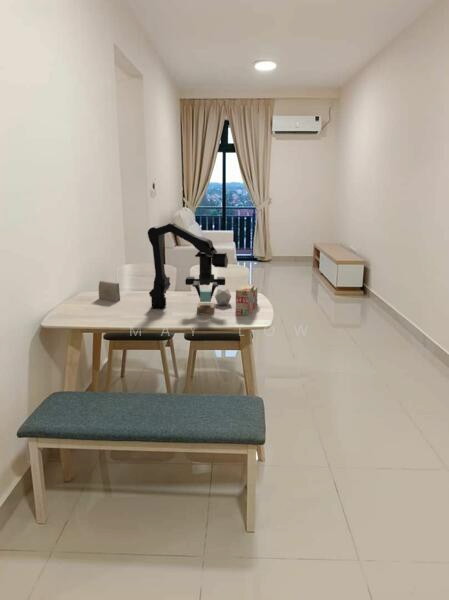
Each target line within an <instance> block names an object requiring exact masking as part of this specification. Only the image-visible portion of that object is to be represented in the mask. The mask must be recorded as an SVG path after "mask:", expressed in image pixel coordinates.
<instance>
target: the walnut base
mask: <svg viewBox="0 0 449 600" xmlns="http://www.w3.org/2000/svg"><path fill="white" fill-rule="evenodd" d="M198 313H213V315H214V314H215V302H198V303H197V306H196V314H198Z"/></svg>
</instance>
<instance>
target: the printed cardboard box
mask: <svg viewBox="0 0 449 600" xmlns="http://www.w3.org/2000/svg"><path fill="white" fill-rule="evenodd" d="M257 305H258V286H254V284H246V283H245V284H243V283H242V284H240V286H239V287H238V288H237V289H236V290H235V316H250V315H251V313H252V311H253V310H254V309H255V308H256V306H257Z"/></svg>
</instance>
